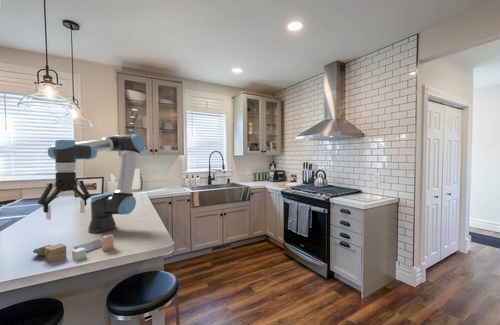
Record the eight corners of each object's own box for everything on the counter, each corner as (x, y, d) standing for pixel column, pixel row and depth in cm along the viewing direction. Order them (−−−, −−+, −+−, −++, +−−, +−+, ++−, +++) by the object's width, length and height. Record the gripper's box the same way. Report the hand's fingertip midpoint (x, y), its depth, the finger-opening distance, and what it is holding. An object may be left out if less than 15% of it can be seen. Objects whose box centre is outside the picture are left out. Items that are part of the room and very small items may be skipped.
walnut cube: (44, 260, 104) (44, 247, 104) (60, 255, 109) (60, 243, 109) (50, 263, 101) (50, 250, 101) (66, 258, 106) (66, 245, 106)
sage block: (72, 258, 105) (72, 250, 105) (82, 255, 109) (81, 247, 109) (76, 260, 103) (76, 252, 103) (86, 257, 107) (85, 249, 107)
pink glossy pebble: (100, 250, 115) (99, 236, 114) (110, 246, 119) (110, 233, 119) (105, 252, 112) (105, 238, 112) (115, 248, 117) (115, 235, 116)
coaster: (74, 248, 117) (74, 246, 117) (98, 240, 127) (98, 239, 127) (85, 253, 111) (85, 251, 111) (110, 244, 122) (110, 243, 122)
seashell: (54, 244, 117) (60, 234, 113) (60, 256, 115) (66, 247, 111) (28, 253, 108) (34, 243, 104) (34, 266, 106) (40, 256, 102)
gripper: (34, 173, 94) (35, 223, 94) (98, 170, 116) (98, 211, 116) (27, 172, 97) (28, 221, 98) (90, 170, 119) (90, 209, 120)
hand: (66, 215), depth 107 cm, fingers open, 13 cm apart
